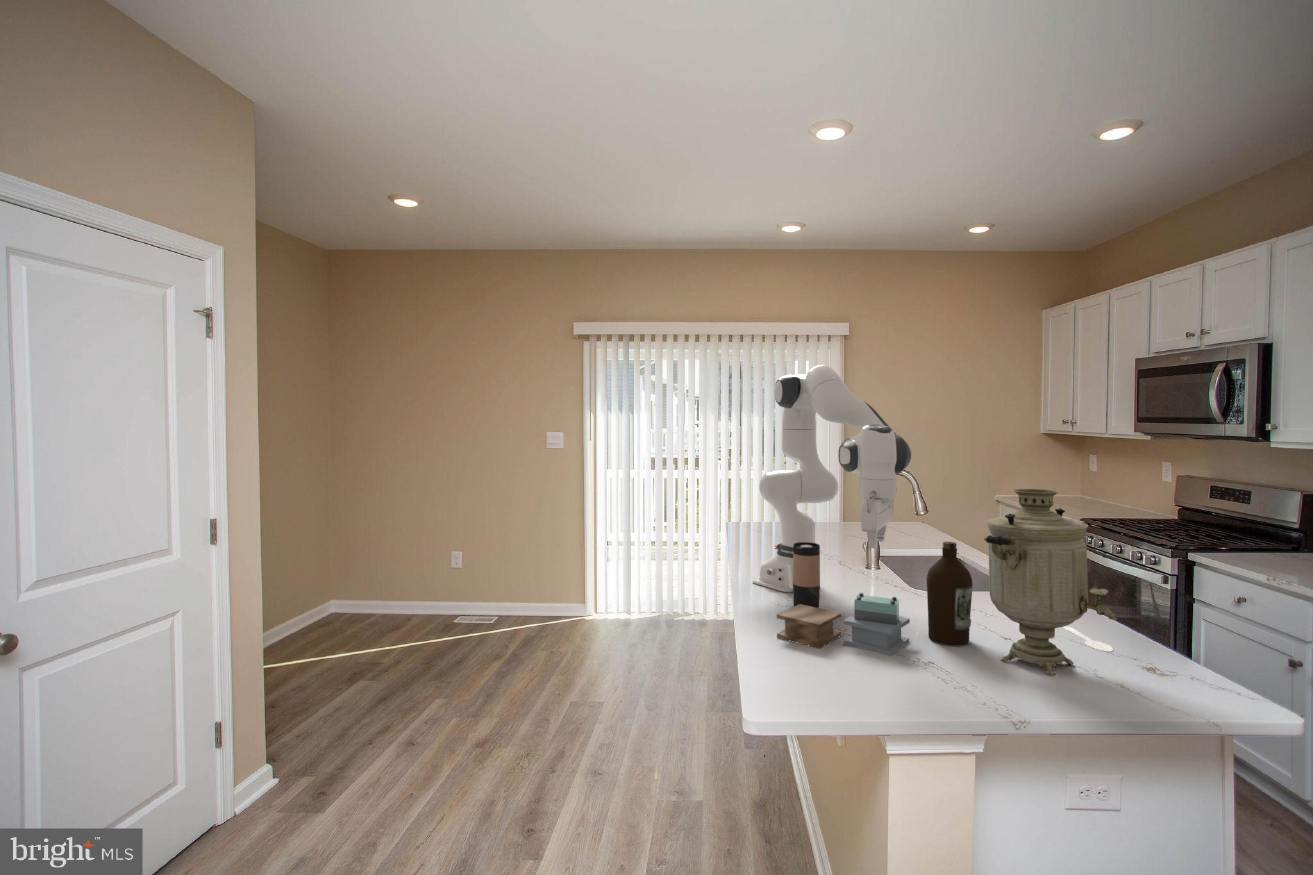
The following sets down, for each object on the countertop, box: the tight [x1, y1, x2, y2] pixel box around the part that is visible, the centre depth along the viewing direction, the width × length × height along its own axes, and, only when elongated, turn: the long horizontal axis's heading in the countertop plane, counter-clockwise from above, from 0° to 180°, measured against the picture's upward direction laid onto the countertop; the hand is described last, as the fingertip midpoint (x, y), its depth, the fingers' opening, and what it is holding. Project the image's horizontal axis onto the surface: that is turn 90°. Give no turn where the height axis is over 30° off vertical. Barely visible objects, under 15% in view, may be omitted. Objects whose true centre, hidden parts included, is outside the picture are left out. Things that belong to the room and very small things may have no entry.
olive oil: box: [926, 541, 973, 647], centre depth 161 cm, size 11×11×25 cm
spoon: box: [1062, 625, 1114, 653], centre depth 162 cm, size 5×18×1 cm, turn 177°
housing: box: [853, 592, 900, 625], centre depth 159 cm, size 10×5×6 cm, turn 63°
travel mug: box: [792, 542, 821, 608], centre depth 183 cm, size 8×8×20 cm
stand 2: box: [843, 614, 910, 657], centre depth 159 cm, size 12×12×6 cm
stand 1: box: [776, 604, 842, 649], centre depth 164 cm, size 12×12×6 cm
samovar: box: [984, 488, 1117, 677], centre depth 143 cm, size 30×26×40 cm
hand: (876, 544), depth 159 cm, fingers open, 8 cm apart
